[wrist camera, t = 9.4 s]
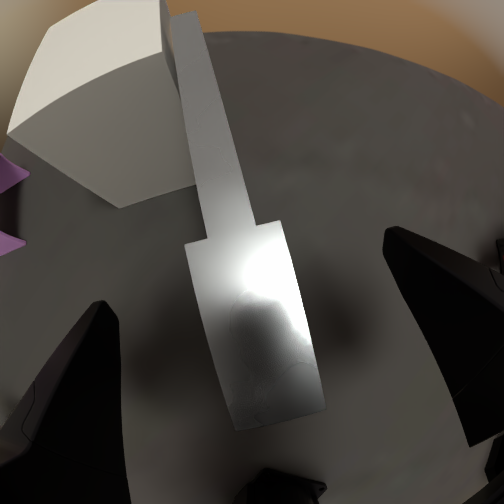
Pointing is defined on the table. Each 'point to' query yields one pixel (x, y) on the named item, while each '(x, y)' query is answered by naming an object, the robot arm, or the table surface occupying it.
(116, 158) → the white box
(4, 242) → the toy chair
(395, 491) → the table surface
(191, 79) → the silver metal panel
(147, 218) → the table surface
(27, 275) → the table surface
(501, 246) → the game console
